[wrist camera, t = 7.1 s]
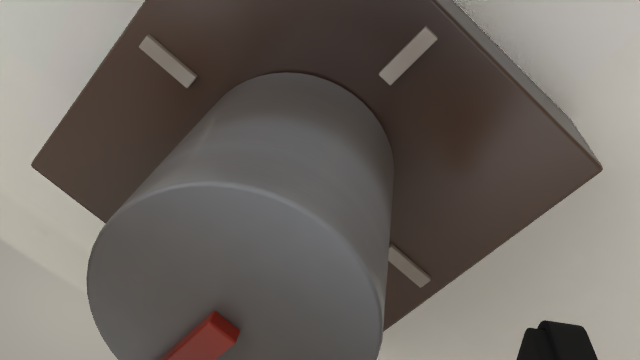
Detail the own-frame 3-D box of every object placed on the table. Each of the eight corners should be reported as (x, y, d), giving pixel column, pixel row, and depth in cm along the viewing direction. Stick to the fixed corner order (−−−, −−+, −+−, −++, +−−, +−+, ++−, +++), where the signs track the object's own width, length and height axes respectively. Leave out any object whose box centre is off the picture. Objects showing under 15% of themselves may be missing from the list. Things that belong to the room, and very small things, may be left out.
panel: (573, 122, 16) (608, 173, 13) (327, 318, 20) (312, 389, 17) (293, -161, 14) (262, -173, 11) (85, 124, 18) (24, 168, 15)
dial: (283, 26, 13) (192, 122, 7) (437, 171, 14) (451, 345, 8) (160, 166, 15) (22, 318, 9) (302, 283, 16) (247, 479, 10)
